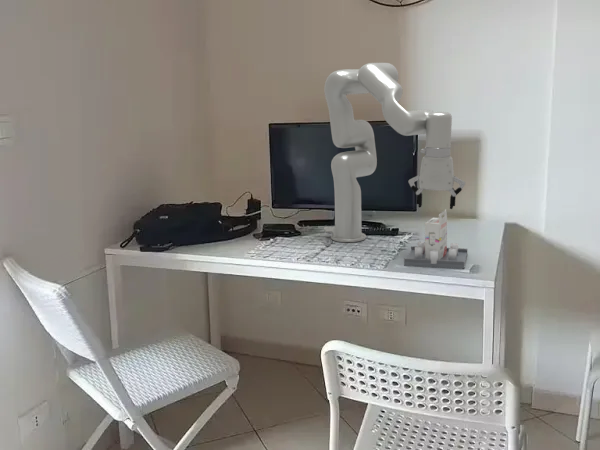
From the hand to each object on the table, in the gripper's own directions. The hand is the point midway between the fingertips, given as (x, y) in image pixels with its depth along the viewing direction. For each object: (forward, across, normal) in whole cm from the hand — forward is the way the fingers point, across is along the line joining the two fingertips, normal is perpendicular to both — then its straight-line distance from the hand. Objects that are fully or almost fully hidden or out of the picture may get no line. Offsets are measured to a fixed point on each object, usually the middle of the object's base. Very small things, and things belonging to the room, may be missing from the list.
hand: (435, 207), depth 206 cm
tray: (+17, +1, -1) cm, 17 cm away
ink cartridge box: (+16, +1, 0) cm, 16 cm away
